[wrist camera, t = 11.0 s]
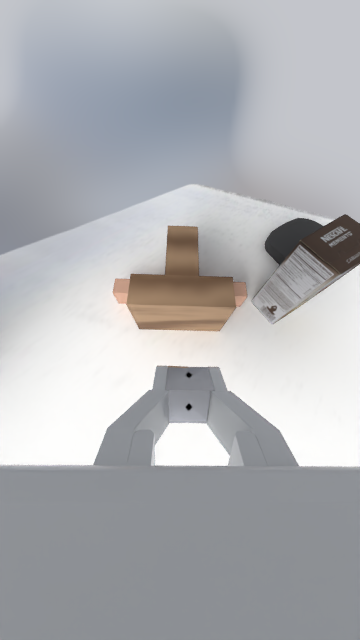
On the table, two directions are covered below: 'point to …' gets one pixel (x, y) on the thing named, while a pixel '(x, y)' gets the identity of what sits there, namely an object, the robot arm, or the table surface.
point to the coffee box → (310, 268)
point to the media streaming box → (289, 237)
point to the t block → (181, 290)
